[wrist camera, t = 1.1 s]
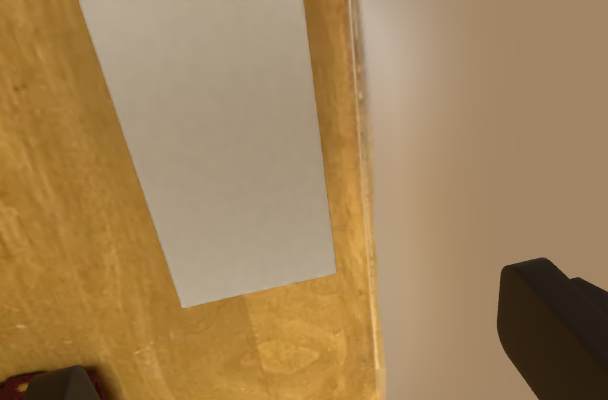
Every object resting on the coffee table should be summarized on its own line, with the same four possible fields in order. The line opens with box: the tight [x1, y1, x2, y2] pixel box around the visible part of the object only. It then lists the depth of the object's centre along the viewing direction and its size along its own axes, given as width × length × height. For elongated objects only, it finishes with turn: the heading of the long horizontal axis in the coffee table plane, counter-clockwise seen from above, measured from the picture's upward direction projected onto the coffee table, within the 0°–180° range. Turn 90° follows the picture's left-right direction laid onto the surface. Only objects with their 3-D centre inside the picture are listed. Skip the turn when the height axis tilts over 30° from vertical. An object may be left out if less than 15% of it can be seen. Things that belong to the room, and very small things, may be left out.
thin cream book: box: [78, 0, 337, 308], centre depth 17 cm, size 11×6×2 cm, turn 8°
